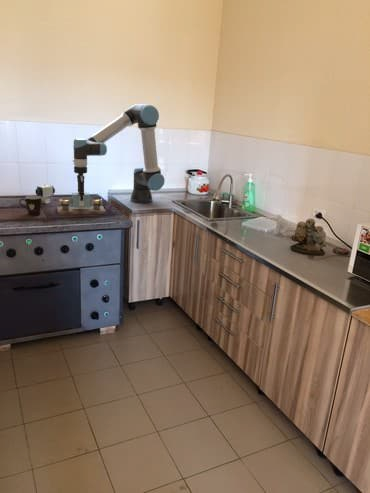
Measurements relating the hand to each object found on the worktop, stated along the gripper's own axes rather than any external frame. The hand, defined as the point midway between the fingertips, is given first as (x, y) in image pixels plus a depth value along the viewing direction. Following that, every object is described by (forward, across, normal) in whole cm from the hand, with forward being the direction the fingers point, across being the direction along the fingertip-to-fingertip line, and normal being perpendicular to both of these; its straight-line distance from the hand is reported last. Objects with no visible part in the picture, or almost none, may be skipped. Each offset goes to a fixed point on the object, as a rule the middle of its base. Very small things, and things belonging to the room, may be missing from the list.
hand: (81, 204), depth 255 cm
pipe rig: (+3, 0, 0) cm, 3 cm away
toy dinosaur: (+5, +61, +105) cm, 121 cm away
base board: (+4, 0, 0) cm, 4 cm away
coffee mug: (+4, +4, -28) cm, 29 cm away
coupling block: (+1, 0, 0) cm, 1 cm away
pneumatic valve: (+4, -23, -20) cm, 31 cm away
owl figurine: (+5, +87, +102) cm, 134 cm away
